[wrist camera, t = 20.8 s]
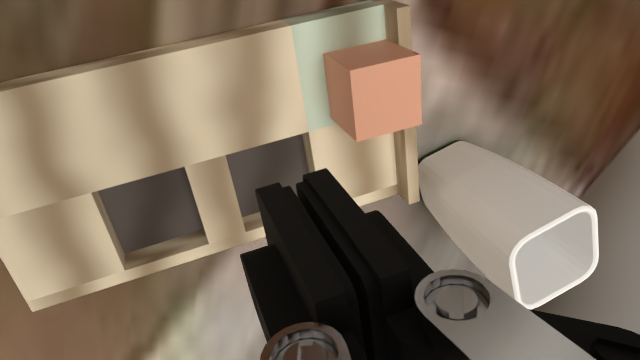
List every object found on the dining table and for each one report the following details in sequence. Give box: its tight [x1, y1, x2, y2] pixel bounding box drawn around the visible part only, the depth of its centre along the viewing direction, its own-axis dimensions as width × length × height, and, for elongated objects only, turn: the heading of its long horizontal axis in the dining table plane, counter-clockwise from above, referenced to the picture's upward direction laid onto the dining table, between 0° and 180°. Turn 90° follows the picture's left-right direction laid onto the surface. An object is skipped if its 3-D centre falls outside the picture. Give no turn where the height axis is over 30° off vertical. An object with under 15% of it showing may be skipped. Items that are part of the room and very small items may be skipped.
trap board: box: [0, 0, 420, 312], centre depth 37 cm, size 31×16×4 cm, turn 99°
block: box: [323, 39, 422, 142], centre depth 36 cm, size 5×5×5 cm
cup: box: [418, 141, 599, 310], centre depth 41 cm, size 7×7×15 cm
